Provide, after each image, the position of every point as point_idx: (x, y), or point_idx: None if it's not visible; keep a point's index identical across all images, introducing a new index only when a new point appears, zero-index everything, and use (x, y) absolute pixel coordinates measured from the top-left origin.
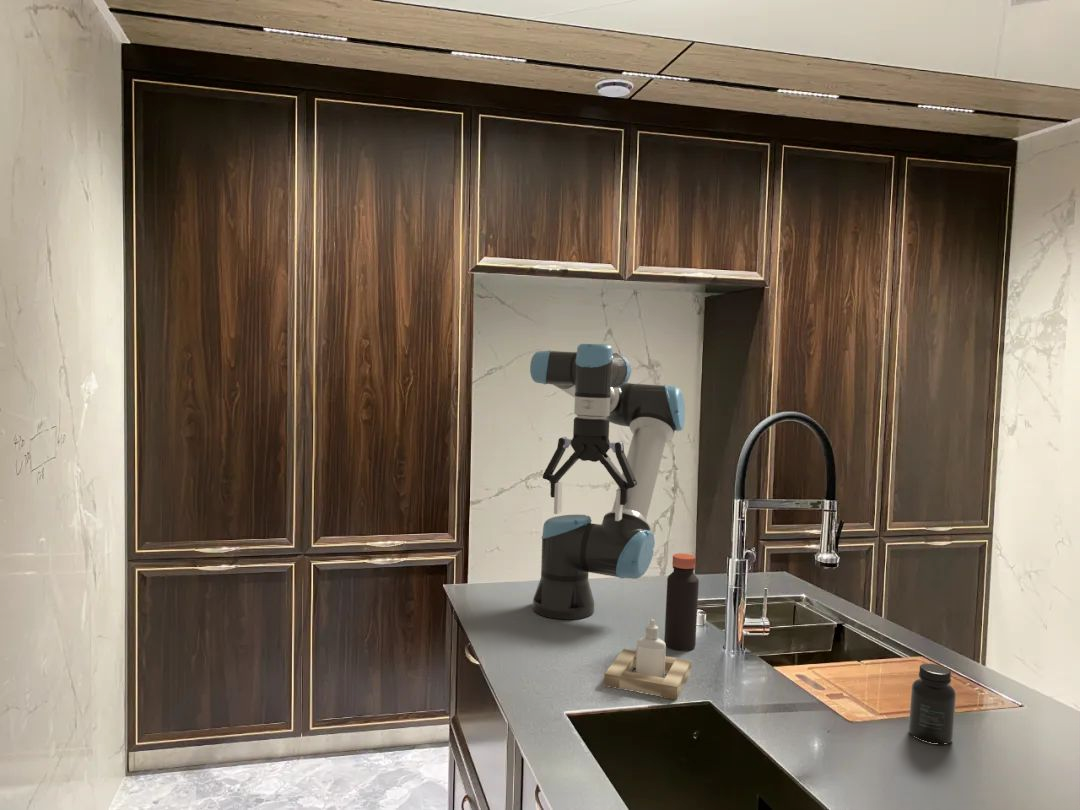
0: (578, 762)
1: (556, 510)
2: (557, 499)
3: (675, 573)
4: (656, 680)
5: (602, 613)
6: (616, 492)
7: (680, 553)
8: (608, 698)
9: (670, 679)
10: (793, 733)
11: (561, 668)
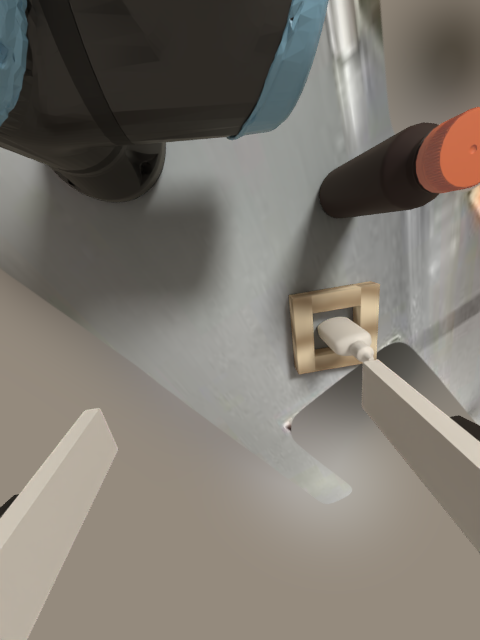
0: (323, 472)
1: (108, 462)
2: (85, 517)
3: (412, 188)
4: (353, 359)
5: None
6: (474, 543)
7: (460, 118)
8: (308, 386)
9: None
10: (472, 355)
11: (236, 354)
